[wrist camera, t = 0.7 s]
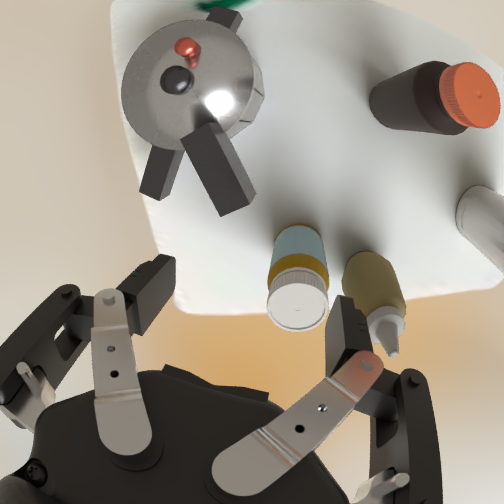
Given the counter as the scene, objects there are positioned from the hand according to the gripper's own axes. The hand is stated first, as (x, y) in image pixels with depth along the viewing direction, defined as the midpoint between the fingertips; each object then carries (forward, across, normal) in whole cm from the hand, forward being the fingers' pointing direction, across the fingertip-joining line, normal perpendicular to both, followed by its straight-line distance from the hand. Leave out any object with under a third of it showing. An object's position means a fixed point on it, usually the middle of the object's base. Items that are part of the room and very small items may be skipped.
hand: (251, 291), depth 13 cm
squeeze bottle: (+26, -14, +10) cm, 32 cm away
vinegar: (+26, -12, -14) cm, 32 cm away
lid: (+16, +10, -8) cm, 21 cm away
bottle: (+26, -3, +9) cm, 28 cm away
